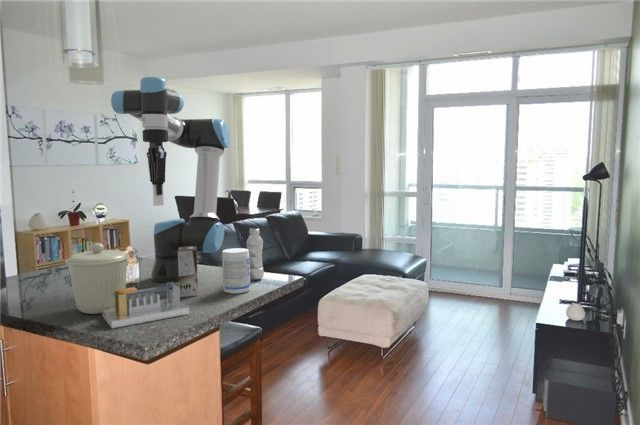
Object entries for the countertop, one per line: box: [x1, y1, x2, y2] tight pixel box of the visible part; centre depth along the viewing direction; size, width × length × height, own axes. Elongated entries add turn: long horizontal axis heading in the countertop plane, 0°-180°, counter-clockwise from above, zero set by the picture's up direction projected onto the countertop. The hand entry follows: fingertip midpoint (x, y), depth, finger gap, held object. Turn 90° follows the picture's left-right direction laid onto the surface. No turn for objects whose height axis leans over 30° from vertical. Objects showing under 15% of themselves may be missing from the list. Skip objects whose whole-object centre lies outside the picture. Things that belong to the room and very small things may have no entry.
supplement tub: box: [221, 247, 251, 295], centre depth 173 cm, size 10×10×15 cm
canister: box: [64, 242, 130, 315], centre depth 152 cm, size 18×18×21 cm
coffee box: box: [178, 246, 199, 298], centre depth 171 cm, size 9×6×16 cm
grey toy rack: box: [101, 282, 190, 329], centre depth 147 cm, size 14×22×8 cm, turn 124°
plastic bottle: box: [246, 227, 265, 281], centre depth 189 cm, size 6×7×20 cm
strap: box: [114, 283, 176, 298], centre depth 147 cm, size 3×18×2 cm, turn 124°
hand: (158, 205), depth 153 cm, fingers closed
